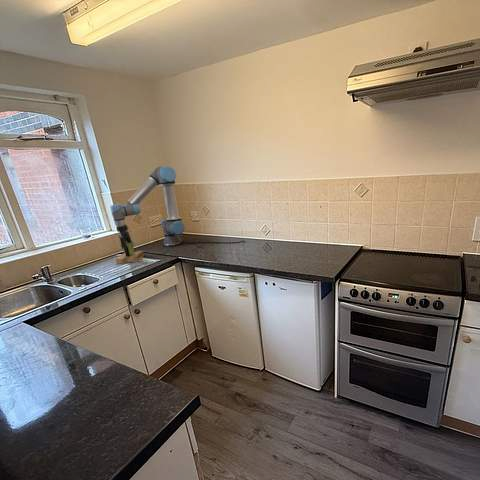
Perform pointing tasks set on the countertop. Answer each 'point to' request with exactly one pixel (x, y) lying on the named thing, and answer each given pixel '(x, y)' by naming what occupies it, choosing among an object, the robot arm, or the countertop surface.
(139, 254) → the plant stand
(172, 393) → the countertop surface
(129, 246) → the plant pot
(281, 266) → the countertop surface
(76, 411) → the countertop surface
